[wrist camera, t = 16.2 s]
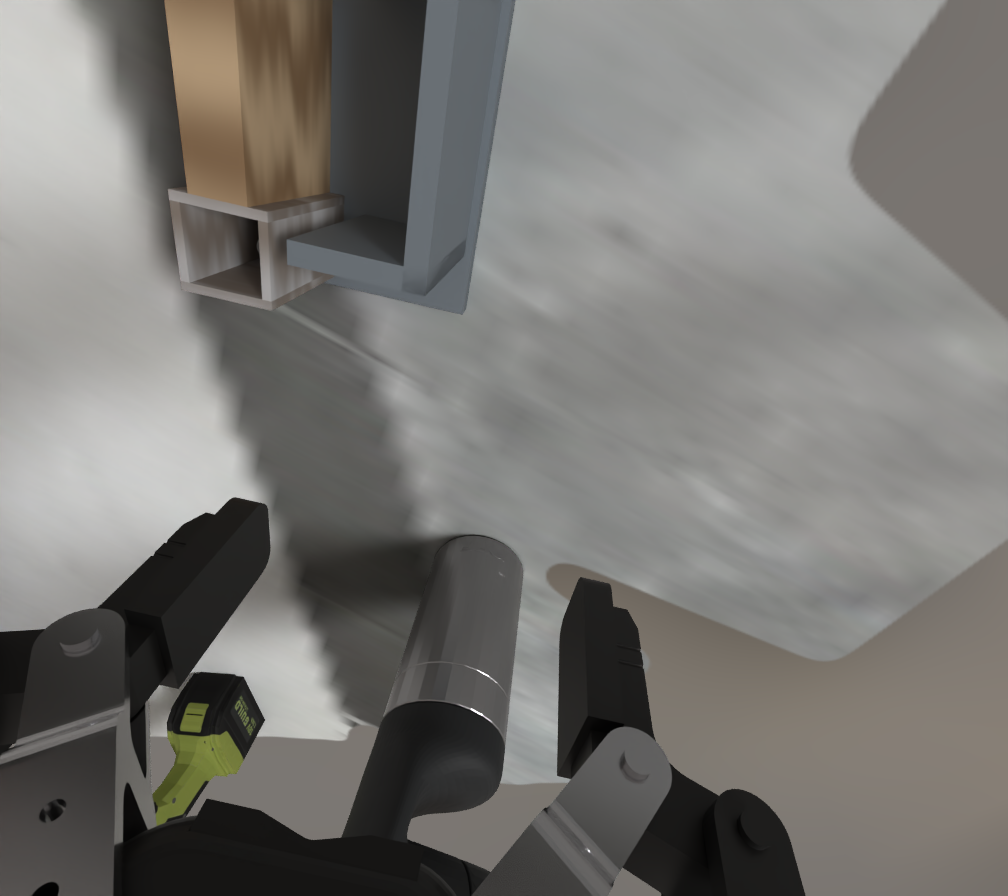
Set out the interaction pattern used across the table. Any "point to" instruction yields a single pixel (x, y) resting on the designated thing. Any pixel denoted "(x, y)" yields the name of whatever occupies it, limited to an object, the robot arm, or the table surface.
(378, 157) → the grey corner bracket
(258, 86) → the door
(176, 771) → the cordless drill
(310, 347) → the table surface
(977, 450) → the table surface
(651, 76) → the table surface
